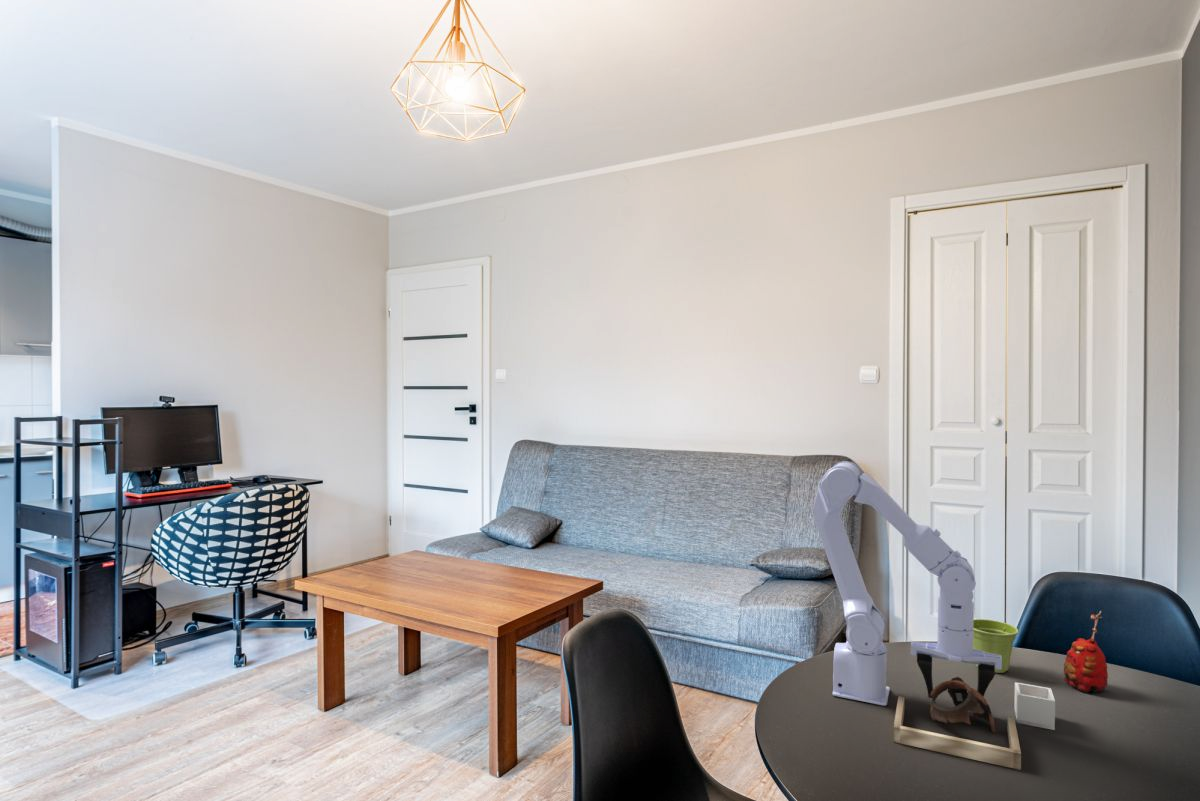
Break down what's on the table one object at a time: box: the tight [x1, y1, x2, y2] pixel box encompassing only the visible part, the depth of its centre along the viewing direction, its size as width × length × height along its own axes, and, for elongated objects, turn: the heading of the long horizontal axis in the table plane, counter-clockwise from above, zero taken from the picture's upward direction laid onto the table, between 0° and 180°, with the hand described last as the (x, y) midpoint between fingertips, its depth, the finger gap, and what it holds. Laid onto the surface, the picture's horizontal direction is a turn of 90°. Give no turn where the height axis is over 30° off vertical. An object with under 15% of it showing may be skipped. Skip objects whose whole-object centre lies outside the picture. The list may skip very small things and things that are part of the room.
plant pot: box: [973, 618, 1019, 674], centre depth 142 cm, size 9×9×9 cm
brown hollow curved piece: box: [929, 676, 996, 733], centre depth 120 cm, size 12×10×8 cm
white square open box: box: [1013, 682, 1056, 731], centre depth 120 cm, size 6×6×5 cm
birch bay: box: [892, 695, 1022, 771], centre depth 114 cm, size 18×12×2 cm
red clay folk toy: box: [1063, 610, 1109, 693], centre depth 133 cm, size 8×7×15 cm
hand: (954, 700), depth 124 cm, fingers open, 7 cm apart
